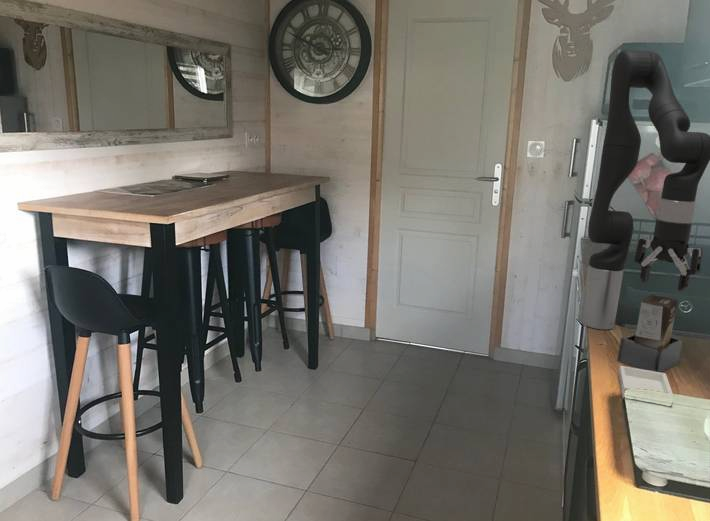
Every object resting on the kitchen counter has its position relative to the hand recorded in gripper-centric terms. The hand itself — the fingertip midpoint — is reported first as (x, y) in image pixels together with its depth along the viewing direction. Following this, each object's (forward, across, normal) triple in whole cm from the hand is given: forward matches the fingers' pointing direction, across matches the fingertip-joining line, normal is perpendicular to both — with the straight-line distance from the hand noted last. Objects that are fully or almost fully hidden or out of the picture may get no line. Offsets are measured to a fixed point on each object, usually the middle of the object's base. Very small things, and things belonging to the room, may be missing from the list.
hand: (662, 285), depth 145 cm
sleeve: (+20, 0, 0) cm, 20 cm away
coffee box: (+20, 0, 0) cm, 20 cm away
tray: (+20, -7, +17) cm, 27 cm away
